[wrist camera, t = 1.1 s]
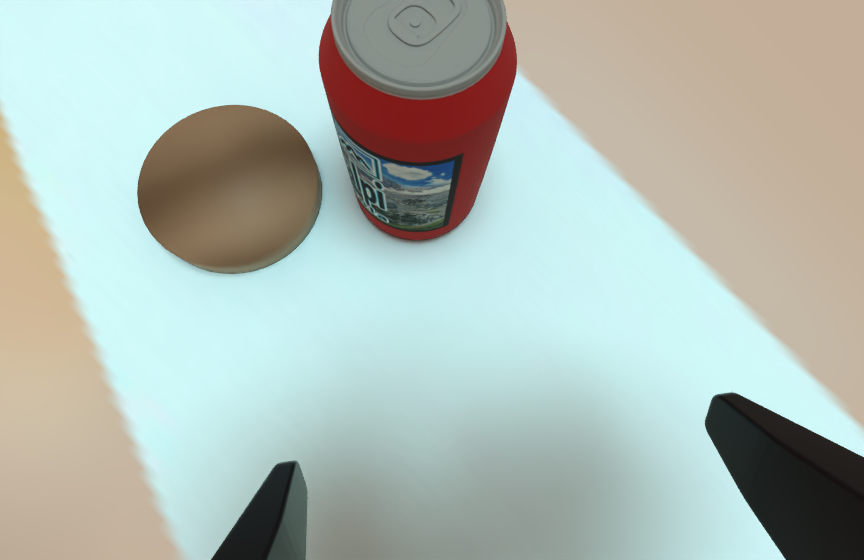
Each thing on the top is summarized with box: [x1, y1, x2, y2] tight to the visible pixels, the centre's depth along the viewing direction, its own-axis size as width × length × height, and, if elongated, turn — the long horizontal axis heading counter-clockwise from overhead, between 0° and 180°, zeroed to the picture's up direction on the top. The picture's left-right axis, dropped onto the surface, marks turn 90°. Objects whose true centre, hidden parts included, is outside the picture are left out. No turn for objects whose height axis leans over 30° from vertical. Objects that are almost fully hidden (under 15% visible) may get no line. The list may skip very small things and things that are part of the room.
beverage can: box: [319, 0, 517, 240], centre depth 20 cm, size 7×7×12 cm
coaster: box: [137, 105, 322, 274], centre depth 24 cm, size 9×9×2 cm
